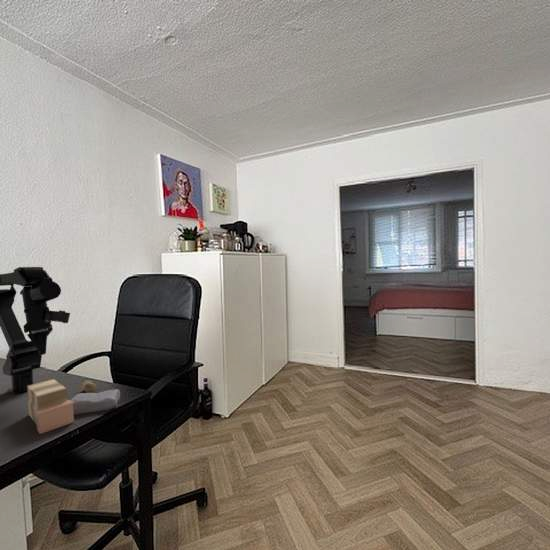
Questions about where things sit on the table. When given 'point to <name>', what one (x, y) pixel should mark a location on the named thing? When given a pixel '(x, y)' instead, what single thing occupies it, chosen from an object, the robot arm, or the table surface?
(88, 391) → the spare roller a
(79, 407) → the stone block
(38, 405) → the notched wooden block
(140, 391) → the table surface
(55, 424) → the block
